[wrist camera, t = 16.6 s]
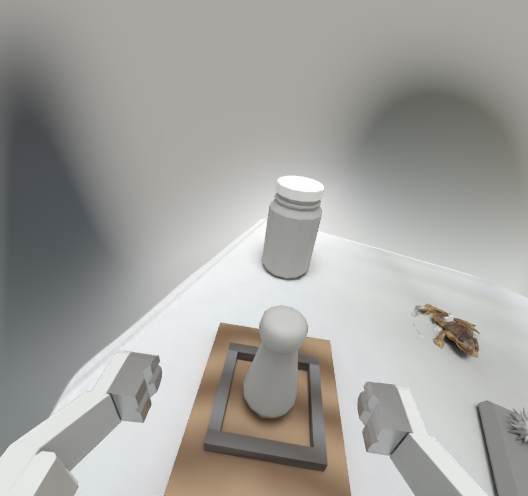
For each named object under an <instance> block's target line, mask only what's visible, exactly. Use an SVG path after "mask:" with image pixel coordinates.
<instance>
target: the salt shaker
mask: <svg viewBox="0 0 528 496" xmlns="http://www.w3.org/2000/svg"><path fill="white" fill-rule="evenodd" d="M259 331H260V338H261V340H262V342H261V344H260V346H259V348H258V351H257V353H256V355H255V357H254V360H253V362H252V364H251V366H250V369H249V371H248V373H247V376H246V378H245V380H244V383H243V385H244V398H245V400H246V402H247V403H248V405H249V407H250V409H252V410H253V411H254V412H256V414H257V415H258V416H259V417H260V418H261V419H266V418H278V417H281V416H283V415H285V414H286V413H287V412H288V411H289V410H290V408H291V407H292V406H293V405H294V403H295V399H296V395H297V379H298V349H299V348H300V347H301V346H303V344H304V342H305V340H306V336H307V333H308V325H307V322H306V319H305V317H304V316H303V315H302V314H301V313H300V312H299V311H297V310H295V309H293V308H291V307H288V306H276V307H271V308H270V309H268V310H267V311H265V312H264V315H263V317H262V319H261V321H260V325H259Z"/></svg>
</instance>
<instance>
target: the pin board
mask: <svg viewBox="0 0 528 496" xmlns="http://www.w3.org/2000/svg"><path fill="white" fill-rule="evenodd" d="M261 342H262V340H261V338H260V331H259V329H256V328H250V327H244V326H238V325H232V324H226V323H220V325H219V328H218V332H217V335H216V338H215V341H214V344H213V347H212V350H211V353H210V356H209V359H208V362H207V365H206V368H205V371H204V374H203V377H202V381H201V384H200V387H199V390H198V393H197V396H196V399H195V402H194V405H193V408H192V411H191V414H190V417H189V420H188V423H187V426H186V430H185V433H184V436H183V439H182V442H181V445H180V448H179V451H178V454H177V457H176V460H175V463H174V466H173V469H172V472H171V475H170V479H169V482H168V485H167V488H166V491H165V494H164V496H351V492H350V484H349V477H348V470H347V462H346V455H345V448H344V440H343V433H342V426H341V418H340V411H339V404H338V396H337V389H336V382H335V375H334V367H333V360H332V353H331V345H330V341H329V340H323V339H317V338H311V337H306V340H305V342H304V344H303V346H301V347H300V348H299V349H298V379H297V395H296V399H295V403H294V405H293V406H292V407H291V408H290V410H289V411H288V412H287V413H286V414H285V415H283V416H281V417H278V418H266V419H261V418H260V417H259V416H258V415H257V414H256V412H254V411H253V410H252V409H250V407H249V405H248V403H247V402H246V400H245V398H244V385H243V383H244V380H245V378H246V376H247V373H248V371H249V369H250V366H251V364H252V362H253V360H254V357H255V355H256V353H257V351H258V348H259V346H260V344H261Z"/></svg>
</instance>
